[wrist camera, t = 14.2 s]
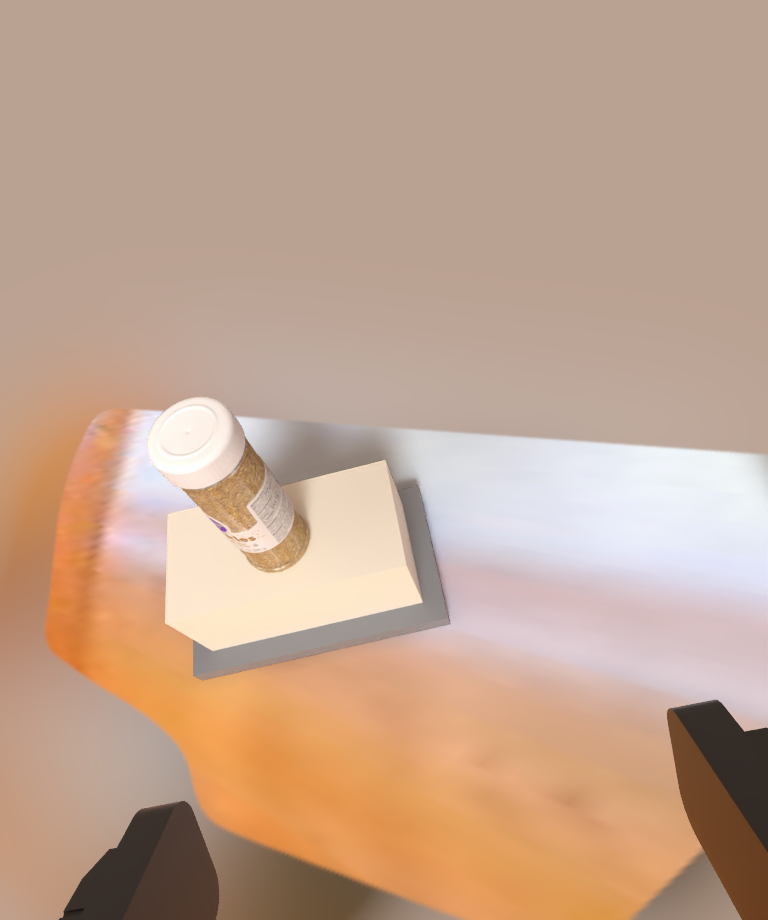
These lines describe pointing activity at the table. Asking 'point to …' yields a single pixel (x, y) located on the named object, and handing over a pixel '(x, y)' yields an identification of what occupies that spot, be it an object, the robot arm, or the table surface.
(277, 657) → the cream and grey block
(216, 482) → the sprinkles bottle
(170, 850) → the robot arm
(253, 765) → the table surface
